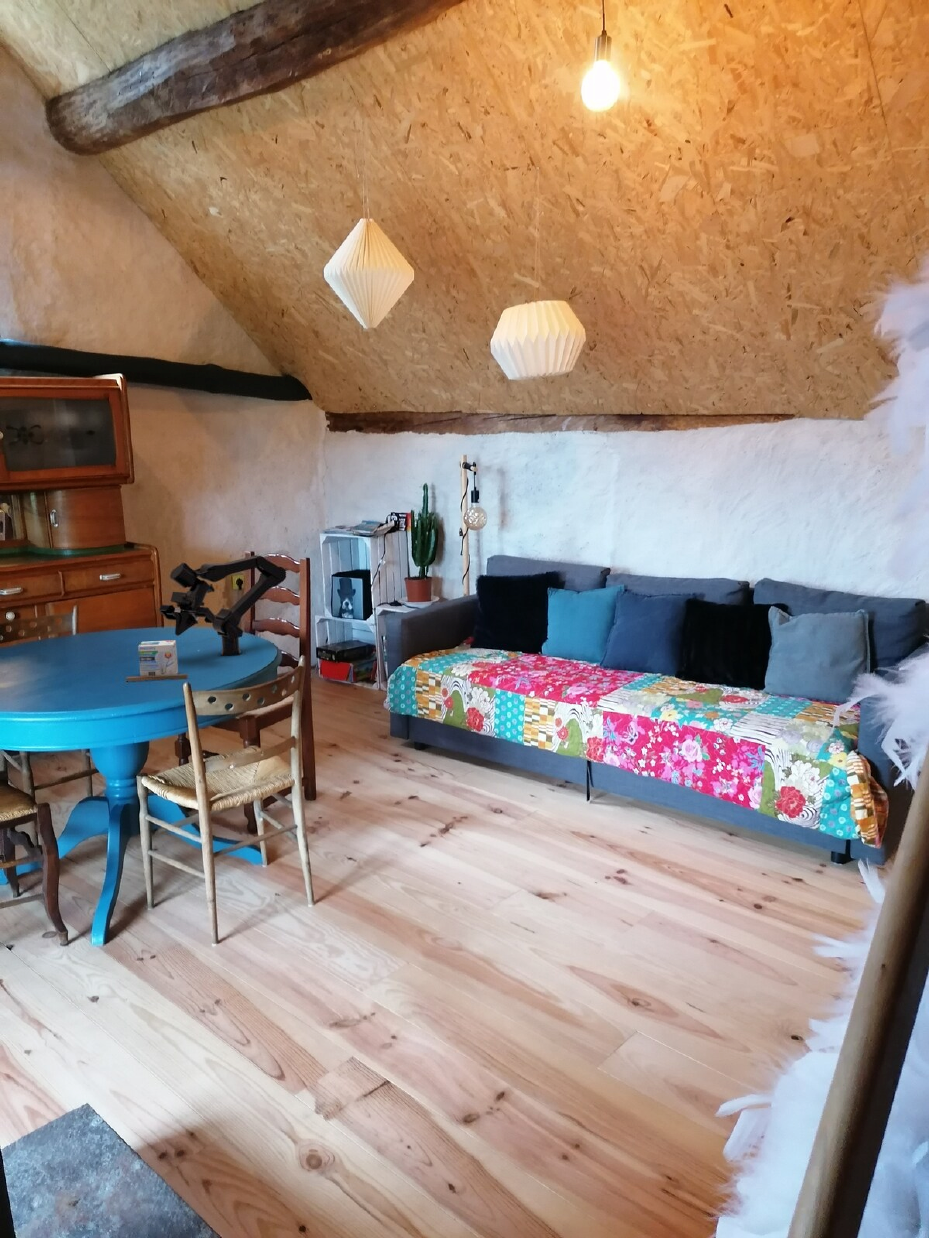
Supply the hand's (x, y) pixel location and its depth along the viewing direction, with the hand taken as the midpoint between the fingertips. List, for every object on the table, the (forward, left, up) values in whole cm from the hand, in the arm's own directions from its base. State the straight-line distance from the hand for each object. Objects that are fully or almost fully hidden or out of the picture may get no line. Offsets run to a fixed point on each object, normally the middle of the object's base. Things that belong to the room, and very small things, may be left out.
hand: (176, 634), depth 270 cm
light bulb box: (+8, -5, -11) cm, 15 cm away
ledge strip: (+13, -5, -11) cm, 18 cm away
